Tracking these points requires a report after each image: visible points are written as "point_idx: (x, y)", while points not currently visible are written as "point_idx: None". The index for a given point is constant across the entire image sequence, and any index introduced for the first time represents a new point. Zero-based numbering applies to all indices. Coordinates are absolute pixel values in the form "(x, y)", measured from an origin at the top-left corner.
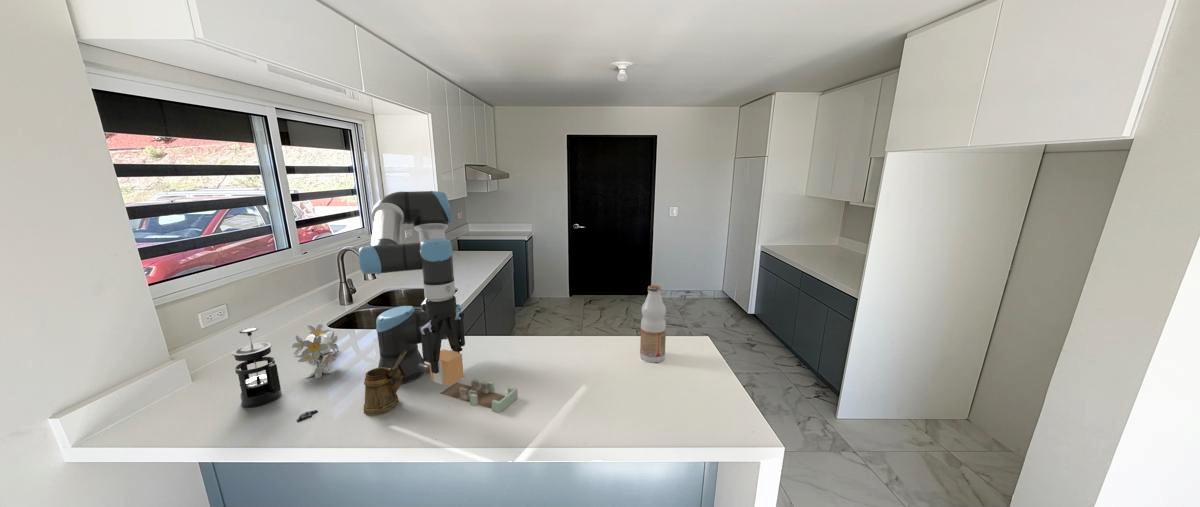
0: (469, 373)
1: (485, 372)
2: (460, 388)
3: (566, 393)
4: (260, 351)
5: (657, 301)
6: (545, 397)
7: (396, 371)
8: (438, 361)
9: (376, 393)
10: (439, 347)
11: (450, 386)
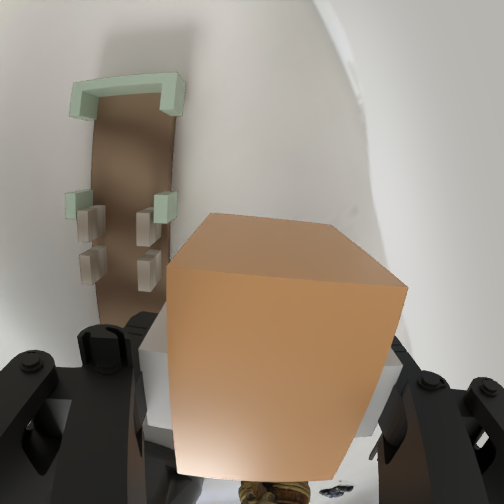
0: (51, 339)
1: (26, 298)
2: (147, 288)
3: (43, 7)
4: None
5: None
6: (66, 35)
7: (256, 492)
8: (412, 373)
9: None
10: (448, 490)
11: None
